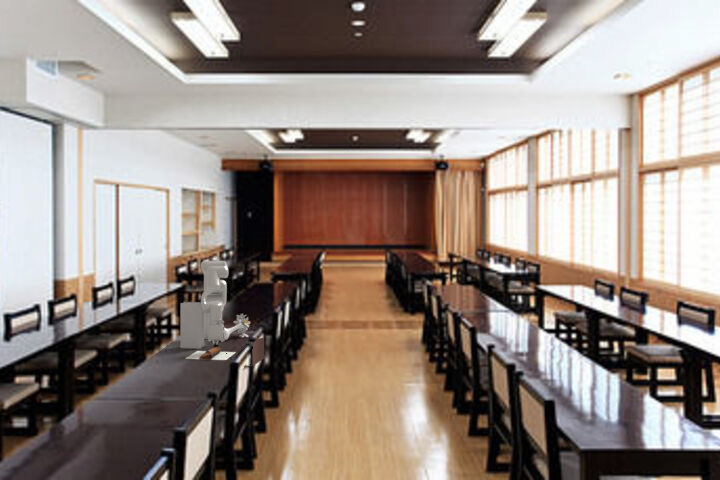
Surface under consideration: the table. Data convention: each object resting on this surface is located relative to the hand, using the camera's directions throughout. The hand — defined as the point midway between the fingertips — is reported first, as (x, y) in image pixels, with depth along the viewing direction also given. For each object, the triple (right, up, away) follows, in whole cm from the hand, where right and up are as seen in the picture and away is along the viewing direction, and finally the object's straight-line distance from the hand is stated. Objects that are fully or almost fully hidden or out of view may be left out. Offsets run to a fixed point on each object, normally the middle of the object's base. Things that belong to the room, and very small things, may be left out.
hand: (216, 350), depth 361 cm
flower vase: (+3, 0, +42) cm, 42 cm away
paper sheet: (-1, -1, -9) cm, 9 cm away
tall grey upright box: (-19, -1, +12) cm, 23 cm away
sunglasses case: (-1, -2, -10) cm, 10 cm away
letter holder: (+27, -3, -23) cm, 36 cm away
